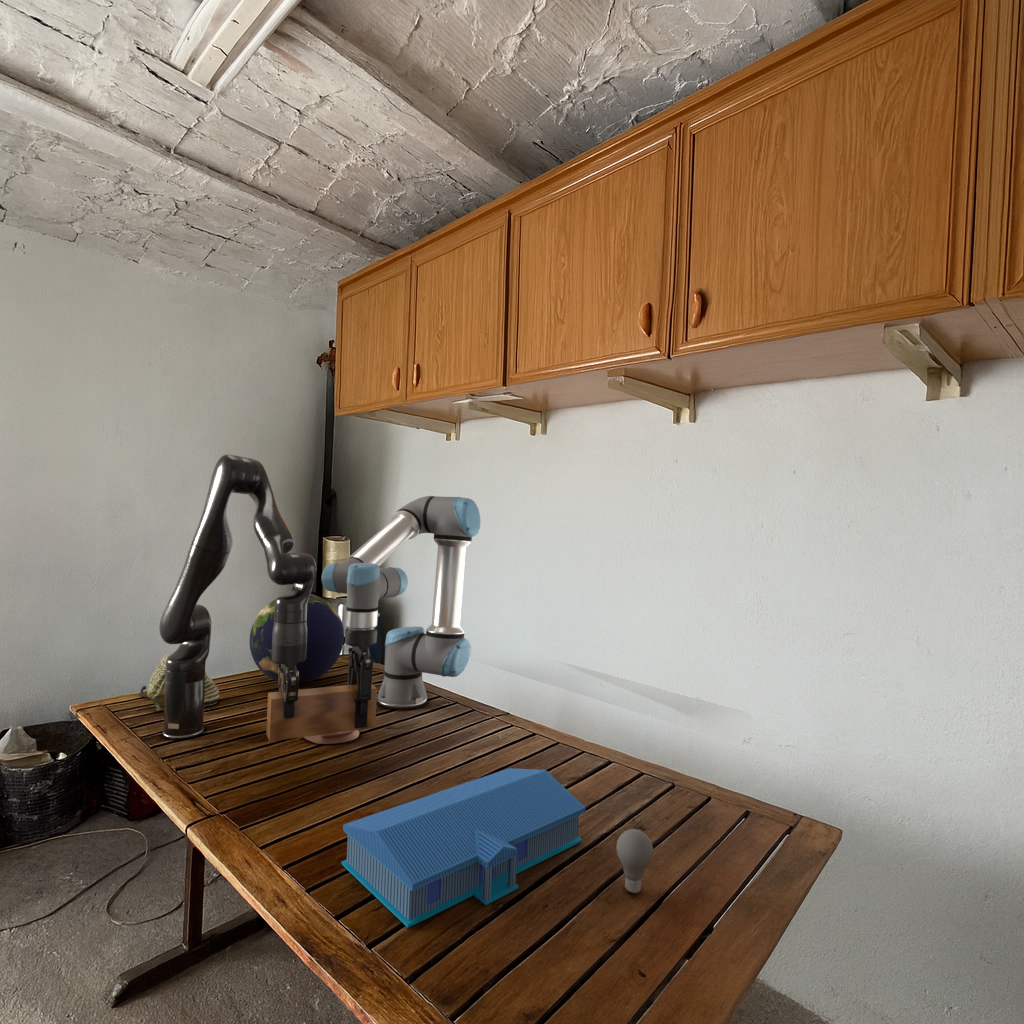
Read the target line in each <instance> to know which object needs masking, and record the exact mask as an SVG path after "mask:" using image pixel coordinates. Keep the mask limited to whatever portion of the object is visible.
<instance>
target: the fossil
mask: <svg viewBox="0 0 1024 1024" xmlns="http://www.w3.org/2000/svg"><path fill="white" fill-rule="evenodd" d="M170 655H171V654H165V655H164V656H163V657H162V658H161V659H160V660H159V662H158V663H157V666H156V667H155V669H154V670H153V672H152V675H151V677H150V680H149V684H148V688H147V694H146V695H148V697H149V698H148V699H149V700H150V701H152V703H153V704H154V706H155V711H158V712H159V711H162V712H163V711H164V705H165V674H166V660H167V658H168V657H169V656H170ZM220 698H221V696H220V690H219V688H218V686H217V685H216V683H215V682H214V681H213V679H212V678H211V677H209V675H208V674H207V672H206V671H205V693H204V707H207V706H213V705H215V704H217V703H218V701H219V699H220Z"/></svg>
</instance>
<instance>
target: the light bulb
mask: <svg viewBox="0 0 1024 1024" xmlns="http://www.w3.org/2000/svg"><path fill="white" fill-rule="evenodd" d="M615 849H616V854H617V857H618V859H619V861H620V863H621V865H622V867H623V873H624V874H623V875H624V876H625V878H624V888H625V890H627V891H628V892H630V893H634V894H635V893H639V892H640V891H641V889H642V887H641V886H642V879H643V877H644V875H645V871H646V868H647V867H648V866H649V864H650V863H651V861H652V859H653V855H654V847H653V843H652V841H651V838H649V836H648V835H647V834H646V833H645V832H643V831H642V830H641V829H636V828H629V829H627V830H625V831H623V832H622V833H621V834H620V835H619V837H618V839H617V841H616V847H615Z"/></svg>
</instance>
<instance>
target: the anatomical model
mask: <svg viewBox="0 0 1024 1024" xmlns="http://www.w3.org/2000/svg"><path fill="white" fill-rule="evenodd" d="M359 736H360V730H354V731H346V732H338V733H331V734H323V735H316V736H308V737H303V738H304V739H305V740H307V741H308V742H311V743H314V744H319V745H331V744H332V745H333V744H341V743H342V744H343V743H346V742H352V741H354V740H356V739H357V738H359Z"/></svg>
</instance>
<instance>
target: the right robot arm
mask: <svg viewBox="0 0 1024 1024" xmlns="http://www.w3.org/2000/svg"><path fill="white" fill-rule="evenodd" d="M480 529H481V513H480V510H479V508H478V505H477V504H476V502H475V501H474V500H473V499H471V498H469V497H461V496H435V495H427V496H422V497H419V498H416V499H414V500H412V501H410V502H408V503H406V504H405V505H403V506H401V507H400V508H399V509H398V510H396V512H394V513H393V515H392V516H391V519H390V521H389V522H388V523H386V524H385V525H384V526H383V527H382V528H381V529H379V530H378V531H377V532H376V533H375V534H373V536H371V537H370V538H369V539H368V540H367V541H366V542H365V543H363V544H362V545H361V546H360V547H359V548H358V549H357V550H355V551H354V552H353V553H352V554H351V555H349V556H348V557H347V558H346V559H345V560H343V562H341V563H338V562H336V563H329V564H326V566H325V567H324V568H323V570H322V573H321V584H322V586H323V588H324V589H325V590H326V591H329V592H333V593H337V594H345V595H346V606H345V607H346V609H345V621H344V622H345V624H344V625H345V627H346V629H344V643H345V645H346V646H350V647H348V649H347V650H348V651H347V652H348V664H347V666H348V667H347V668H348V669H347V684H346V685H353V684H357V699H354V701H355V702H356V710H355V728H363V727H367V711H368V700H371V687H372V684H373V682H372V681H373V666H374V659H373V658H371V655H372V654H371V652H370V647H371V646H374V645H376V644H377V642H378V629H377V626H378V618H379V617H380V615H381V613H380V612H379V601H380V600H384V599H390V598H392V599H393V598H396V597H398V596H400V595H402V594H403V593H405V591H406V590H407V588H408V585H409V580H408V576H407V574H406V572H405V571H404V570H403V569H401V568H400V567H391V566H389V567H380V566H382V564H384V563H385V562H386V561H387V560H388V559H389V558H390V557H391V556H392V555H394V553H396V551H398V549H400V548H401V547H402V546H403V545H404V544H405V543H406V542H408V540H412V539H415V538H416V537H417V536H419V535H421V534H432V535H433V541H434V542H435V544H437V554H436V567H435V568H436V569H435V578H434V579H435V580H434V591H433V601H432V602H433V603H432V604H433V605H432V617H431V624H430V625H429V626H428V627H427V628H426V630H425V628H424V627H423V626H404V627H398V628H393V629H391V630H389V631H388V632H387V633H386V636H385V643H384V674H383V675H384V676H383V680H382V682H381V686H380V687H379V691H378V692H377V700H376V704H377V705H378V706H379V707H381V708H384V709H388V710H397V711H398V710H399V711H400V710H402V711H404V710H405V711H406V710H413V709H419V708H421V707H423V706H425V705H426V704H427V702H428V694H427V691H426V685H425V684H424V680H423V673H424V674H430V675H434V676H435V675H436V676H441V677H444V678H445V677H449V678H456V677H458V676H460V675H461V674H462V673H463V672H464V671H465V669H466V667H467V666H468V663H469V660H470V656H471V649H472V646H471V642H470V641H469V640H468V639H467V638H466V637H465V630H464V629H463V628H462V627H461V620H462V619H461V617H462V606H463V594H464V593H463V592H464V580H465V579H464V577H465V568H466V567H465V566H466V554H467V553H466V552H467V547H468V546H469V545H471V544H472V541H473V540H472V539H473V537H476V536H477V535H478V534H479V530H480Z"/></svg>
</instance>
